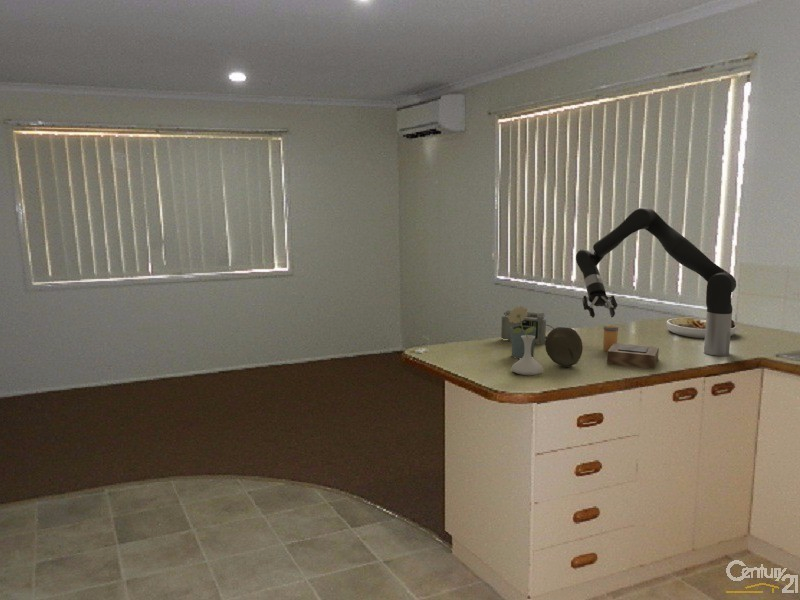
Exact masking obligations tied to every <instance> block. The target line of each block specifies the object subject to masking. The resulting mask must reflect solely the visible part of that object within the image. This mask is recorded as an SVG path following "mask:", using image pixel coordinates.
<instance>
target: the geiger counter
mask: <svg viewBox="0 0 800 600" xmlns="http://www.w3.org/2000/svg"><path fill="white" fill-rule="evenodd" d="M511 311H512V310H509V309H508V310H506V311H505V312H504V313H503V314H504V315H502V316H501V327H500V328H501V333H500V335H501V336H500V338H503V339H508V340H511V327H512V326H521V322H522V326H532V327H533V326H534V327H535V328H536V333H535V340H534V344H535V343H540V344H539V345H545V340H546V337H547V336H546V333H547V330H546V329H547V327H550V328H552V330H553V329H555V327H553V326H552V325H549V324H547V319H546V318H545V312H541V311H537V312H531V311H527V312H528V313H527V316H526V318H525V319H524V320H523V321H521V322H518V323H513V322H512V323H511V322H509V319H508V316H509V314H510V312H511ZM503 339H500V340H501V341H504V340H503Z"/></svg>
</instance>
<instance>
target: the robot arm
mask: <svg viewBox="0 0 800 600" xmlns="http://www.w3.org/2000/svg"><path fill="white" fill-rule="evenodd" d="M640 230H646V231H647V232H649V233H650V234H651V235H652V236H654V237H655V238H656V239H657V240H658V242H659V243H660V244H661V246H662V247H663V249H664V251H666V253H667V254H668V255H669V256H670V257H672V259H674V260H675V261H676V262H677V263H679V264H680V265H682V266H684V267H685V268H687V269H688V270H691V271H692V272H694V273H696V274H698V276H700V277H701V278H703V279H704V280H705V281H706V282H707V283H706V291H705V293H706V295H705V303H706V318H705V319H706V330H705V338H704V342H703V343H704V347H703V353H704V354H706V355H710V356H715V357H716V356H719V357H721V356H722V357H723V356H724V357H725V356H727V357H729V356H730V346H731V320H733V306H732V292H734V291H735V290H736V288H737V280H736V278H735V277H734V276H733V274H731V273H730V272H728V271H726V270H725V269H724V268H722V267H721V266H719V265H718V264H716V263H714V261H712V260H711V259H710V258H708V256H706V255H705V253H703V252H702V251H701V250H700V249H699V248H698V247H697V246H696V245H695V244H694V243H692V242H691V241H690V240H688V238H686V237H685V236H683V235H682V234H681V233H680V232H679V231H677V230H675V228H673V227H671V226H670V225H669V224H668V223H667V222H666V221H665V220H664V219H663V218H662V217H661V216H660V215H659V214H658V213H657V212H656V211H655V210H654V209H653V208H650V207H646V206H645V207H639V208H636V209H634V210H633V211H632V212H631V213H630V214H629V215H628V216H627V217H626V218H625V219H624V220H623V221H622V222H621V223H620V224H619V225H618V226H616V227H615V228H614V229H612V231H610V232H609V233H607V234H606V235H604V236H603V237H602V238H601V239H599V240H597V241H596V242H595V243H594V244H593V245H592V249H593V251H594V252H592V251H589V250H588V249H584V248H582V249H580V250H578V251H577V253H576V255H575V260H576V261H575V262H576V264H577V266H578V268H579V269H580V272H581V273H582V275H583V279H584V285H585V289H586V292H587V295H588V296H586V295H583V297H582V298H581V301H582V306H583V310H584V311H588V312H589V316H590V317H591V318H595V315H596V313H595V310H594V306H595V307H604V308H605V309H607V310H608V311H609V314H610V318H614V317H615V315H616V312H615V310H617V307H618V303H617V301H616V297H615V296H614V295H611V296H607V292H606V289H605V285H604V282H603V279H602V277H601V274H600V271H599V268H598V267H597V266H598V264H599V263H600V262H601V261H602V260H603V258H604V257H605V256H606V255H608V254H609V253H611V252H612V251H613V250H615V249H616V248H617V247H618V246H619V245H620V244H621V243H623V241H624V240H625V239H626V238H627V237H630V235H632V234H634V233H636V232H638V231H640ZM588 301H589V302H590V303H591V304H590V305H589V303H588Z"/></svg>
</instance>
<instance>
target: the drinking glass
mask: <svg viewBox="0 0 800 600" xmlns="http://www.w3.org/2000/svg"><path fill="white" fill-rule="evenodd" d="M522 327H523V330H524V331H525V333H526V329H528V328H531V327H532V326H522ZM522 327H521V326H512V327H511V332H512V331H513V330H514V329H515V328H521V329H522ZM523 330H522V331H521V332H520V333H511V341H510V342H511V344H510V345H511V357H512V356H513V357H516V358H515V359H517V358H522V357H523V356H524V351H525V347H524V341H523V339H522V337H521V336H523V335H525V333H524V331H523ZM535 333H536V328H535V327H534V330H533V331H532V332H530V333H526V335H532V336H535ZM534 340H535V338H534V339H533V341H532V345H531V356H532V357H533V358H534V356H535V355H534V352H535V343H534ZM513 357H512V358H513Z"/></svg>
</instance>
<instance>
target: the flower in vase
mask: <svg viewBox="0 0 800 600" xmlns="http://www.w3.org/2000/svg"><path fill="white" fill-rule="evenodd" d="M510 311H511V312H510V314H509V316H508V319H509V322H511V323H512V322H513V323H518V322H521V321H523V320H524V319H525V318H527V317H526V316H527V313H528V312H529V311H528V308H527V307H524V305H520V306H515V308H513V309H512V310H510ZM521 327H522V322H521ZM522 330H523V327H522V329H521V328H515V329H514V330H513V331H512V332H511V333H520V332H521V331H522ZM533 330H534V326H533V327H531V328H528V329H526V333H530V332H532V331H533ZM523 331H524V330H523ZM524 333H525V331H524ZM526 333H525V335H523V336H521V337H522V339H523V341H524V347H525V351H524V356H523V357H522V358H521V359H518V360H517V361H516V362H515V363H513V364H512V365H511V371H512V372H513V373H516V374H518V375H522V376H536V375H540V374H541V373H543V371H544V368H543V366H541V364H540V363H539V362H537V360H535V359H534V357H533V358H532V356H531V345H532V341H533V339H534V338H535V336H532V335H526Z"/></svg>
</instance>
